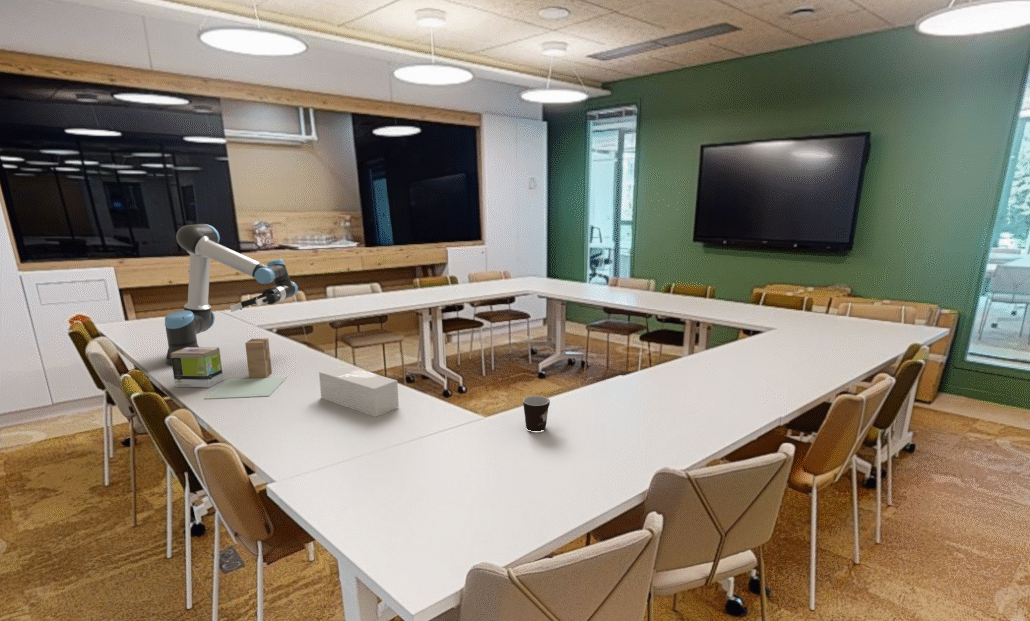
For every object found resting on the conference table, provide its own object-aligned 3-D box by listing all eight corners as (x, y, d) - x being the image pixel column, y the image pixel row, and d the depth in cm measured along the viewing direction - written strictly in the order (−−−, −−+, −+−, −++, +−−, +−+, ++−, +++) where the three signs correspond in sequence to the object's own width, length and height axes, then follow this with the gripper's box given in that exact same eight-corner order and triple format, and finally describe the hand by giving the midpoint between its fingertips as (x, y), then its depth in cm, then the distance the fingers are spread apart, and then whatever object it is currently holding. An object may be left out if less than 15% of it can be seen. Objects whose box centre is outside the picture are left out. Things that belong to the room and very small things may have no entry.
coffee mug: (530, 436, 167) (531, 407, 165) (518, 426, 175) (518, 398, 173) (561, 429, 173) (561, 401, 171) (548, 420, 180) (548, 392, 178)
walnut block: (255, 373, 230) (251, 338, 227) (272, 373, 231) (268, 338, 227) (249, 379, 223) (245, 343, 220) (266, 378, 224) (262, 342, 220)
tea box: (224, 380, 221) (220, 346, 218) (208, 388, 212) (203, 353, 209) (191, 379, 223) (186, 346, 220) (174, 387, 213) (169, 352, 210)
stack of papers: (398, 408, 192) (397, 380, 189) (375, 417, 183) (374, 388, 181) (344, 390, 210) (342, 364, 208) (321, 398, 201) (318, 371, 199)
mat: (227, 380, 221) (227, 379, 221) (286, 377, 224) (286, 377, 224) (204, 399, 200) (204, 398, 200) (269, 396, 203) (269, 395, 203)
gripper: (298, 297, 246) (271, 308, 226) (254, 307, 251) (223, 319, 231) (293, 282, 244) (265, 292, 224) (249, 292, 250) (217, 303, 230)
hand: (243, 306), depth 228 cm, fingers open, 13 cm apart
